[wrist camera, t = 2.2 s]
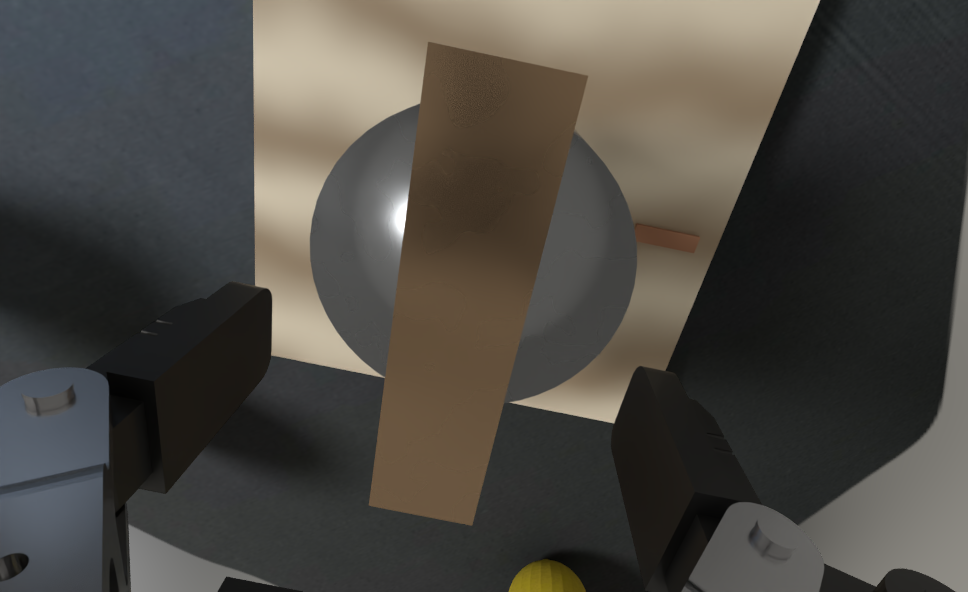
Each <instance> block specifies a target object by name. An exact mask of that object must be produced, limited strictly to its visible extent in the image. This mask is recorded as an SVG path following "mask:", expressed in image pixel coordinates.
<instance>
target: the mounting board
mask: <svg viewBox="0 0 968 592" xmlns="http://www.w3.org/2000/svg"><path fill="white" fill-rule="evenodd" d="M819 2H820V0H253V44H254V175H255V286H258V287H263V288H268V289H269V290H270V291H271V294H272V352H271V355H273V356H278V357H283V358H288V359H293V360H298V361H303V362H308V363H313V364H318V365H323V366H329V367H334V368H339V369H344V370H349V371H354V372H359V373H364V374H369V375H374V376H379V377H383V376H382V375H380V374H379V373H377V372H376V371H375V370H373V369H372V368H371V367H370V366H368V365H367V364H366V363H365V362H363V361H362V360H361V359H360V358H359V357H358V356H357V355H356V354H355V353H354V352H353V351H352V350H351V349H350V348H349V347H348V345H347V344H346V343H345V342H344V340H343V339H342V338H341V336H340V335H339V334H338V333H337V331H336V330H335V328H334V326H333V325H332V323H331V321H330V320H329V318H328V316H327V314H326V312H325V310H324V308H323V306H322V303H321V301H320V299H319V296H318V293H317V289H316V286H315V283H314V280H313V274H312V268H311V262H310V232H311V223H312V217H313V214H314V210H315V206H316V202H317V199H318V197H319V194H320V192H321V189H322V187H323V185H324V182H325V180H326V179H327V177H328V175H329V174H330V172H331V170H332V169H333V167H334V165H335V164H336V162H337V161H338V160H339V159H340V157H341V156H342V155H343V154H344V153H345V151H346V150H347V149H348V148H349V147H350V145H352V144H353V143H354V142H355V141H356V140H357V139H358V138H359V137H361V136H362V135H363V134H364V133H365V132H366V131H367V130H369V129H370V128H372V127H374V126H375V125H377V124H378V123H380V122H381V121H383V120H384V119H386V118H388V117H390V116H392V115H394V114H396V113H398V112H401V111H403V110H405V109H407V108H410V107H412V106H415V105H417V104H420V101H421V93H422V85H423V77H424V69H425V62H426V54H427V46H428V42H432V43H437V44H442V45H446V46H451V47H456V48H460V49H465V50H470V51H474V52H479V53H484V54H488V55H493V56H498V57H503V58H507V59H512V60H517V61H521V62H526V63H531V64H535V65H540V66H545V67H549V68H554V69H559V70H564V71H568V72H573V73H578V74H582V75H587V76H588V79H587V83H586V87H585V91H584V95H583V99H582V102H581V106H580V110H579V114H578V118H577V122H576V126H575V130H576V131H577V132H578V133H579V134H580V135H581V136H582V138H583V139H584V140H585V141H586V142H587V143H588V144H589V146H590V147H591V148H592V149H593V150H594V151H595V153H596V154H597V155H598V156H599V157H600V159H601V160H602V161H603V162H604V163H605V165H606V166H607V168H608V169H609V171H610V172H611V174H612V175H613V177H614V178H615V180H616V181H617V183H618V185H619V187H620V189H621V191H622V193H623V195H624V197H625V200H626V202H627V204H628V207H629V211H630V214H631V217H632V220H633V224H634V230H635V236H636V242H637V270H636V278H635V285H634V289H633V293H632V296H631V300H630V303H629V306H628V308H627V311H626V313H625V315H624V318H623V320H622V322H621V324H620V326H619V327H618V329H617V331H616V332H615V334H614V336H613V337H612V339H611V340H610V341H609V343H608V344H607V345H606V346H605V348H604V349H603V350H602V351H601V353H600V354H599V355H598V356H597V357H596V358H595V359H594V360H593V361H592V362H591V363H590V364H589V365H587V366H586V367H585V368H584V369H583V370H581V371H580V372H579V373H577V374H576V375H575V376H573V377H572V378H571V379H569V380H567V381H565V382H564V383H562V384H560V385H558V386H557V387H555V388H553V389H551V390H548V391H546V392H544V393H541V394H539V395H536V396H533V397H530V398H526V399H523V400H520V401H514V402H510V403H515V404H520V405H525V406H530V407H535V408H540V409H545V410H550V411H555V412H560V413H565V414H570V415H575V416H580V417H585V418H590V419H595V420H600V421H605V422H610V423H614V422H615V419H616V417H617V414H618V412H619V409H620V406H621V404H622V401H623V399H624V396H625V393H626V391H627V388H628V386H629V383H630V380H631V378H632V375H633V373H634V371H635V370H636V368H637V367H639V366H644V367H649V368H654V369H658V370H663V371H665V370H666V368H667V365H668V363H669V361H670V358H671V356H672V354H673V351H674V349H675V346H676V344H677V342H678V339H679V337H680V334H681V332H682V330H683V327H684V325H685V322H686V320H687V318H688V315H689V313H690V310H691V308H692V306H693V303H694V301H695V298H696V296H697V294H698V291H699V289H700V287H701V284H702V282H703V279H704V277H705V275H706V272H707V270H708V267H709V265H710V263H711V260H712V258H713V255H714V253H715V251H716V248H717V246H718V243H719V241H720V239H721V236H722V234H723V232H724V229H725V227H726V224H727V222H728V220H729V217H730V215H731V212H732V210H733V208H734V205H735V203H736V200H737V198H738V196H739V193H740V191H741V188H742V186H743V184H744V181H745V179H746V177H747V174H748V172H749V169H750V167H751V165H752V162H753V160H754V157H755V155H756V153H757V150H758V148H759V145H760V143H761V141H762V138H763V136H764V133H765V131H766V129H767V126H768V124H769V122H770V119H771V117H772V114H773V112H774V110H775V107H776V105H777V102H778V100H779V98H780V95H781V93H782V90H783V88H784V86H785V83H786V81H787V78H788V76H789V74H790V71H791V69H792V66H793V64H794V62H795V59H796V57H797V55H798V52H799V50H800V47H801V45H802V43H803V40H804V38H805V35H806V33H807V31H808V28H809V26H810V23H811V21H812V19H813V16H814V14H815V11H816V9H817V7H818V4H819ZM384 378H385V377H384Z"/></svg>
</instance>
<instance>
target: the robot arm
mask: <svg viewBox="0 0 968 592" xmlns="http://www.w3.org/2000/svg"><path fill="white" fill-rule="evenodd" d="M271 352H272V294H271V291H270V290H269V289H268V288H263V287H258V286H253V285H249V284H244V283H239V282H233V281H232V282H229V283H228V284H226V285H225V286H223V287H222V288H221V289H219V290H218V291H217V292H215V293H214V294H212V295H211V296H210V297H208V298H207V299H202V298H200V299H197V300H194V301H191V302H188V303H185V304H182V305H180V306H177V307H175V308H173V309H172V310H170V311H169V312H167V313H166V314H164V315H163V316H161V317H160V318H158V319H157V321H156V323H155V322H153V323H151V324H150V325H148V326H147V327H145V328H144V329H142V330H141V333H137V334H135V335H134V336H132V337H131V338H129V339H128V340H126V341H125V342H123V343H122V344H120V345H119V346H118V347H116V348H115V349H113V350H112V351H110V352H109V353H107V354H106V355H104V356H103V357H101V358H100V359H99V360H97V361H96V362H94V363H93V364H91V365H90V366H88V367H87V368H85V369H84V368H73V367H72V368H54V369H48V370H42V371H38V372H34V373H30V374H27V375H24V376H21V377H19V378H16V379H14V380H12V381H10V382H8V383H6V384H4V385H2V386H1V387H0V592H131V582H130V557H129V531H128V511H127V504H126V501H127V500H128V499H129V498H130V497H131V496H132V495H133V494H134V493H135V492H136V491H137V489H143V490H148V491H153V492H158V493H163V494H166V493H167V492H168V491H169V489H170V488H171V487H172V486H173V485H174V483H175V482H176V481H177V480H178V479H179V478H180V476H181V475H182V474H183V473H184V472H185V470H186V469H187V468H188V467H189V466H190V464H191V463H192V462H193V461H194V460H195V458H196V457H197V456H198V455H199V454H200V452H201V451H202V450H203V449H204V448H205V447H206V445H207V444H208V443H209V442H210V441H211V439H212V438H213V437H214V436H215V435H216V433H217V432H218V431H219V430H220V429H221V427H222V426H223V425H224V424H225V423H226V422H227V420H228V419H229V418H230V417H231V416H232V414H233V413H234V412H235V411H236V410H237V408H238V407H239V406H240V405H241V404H242V402H243V401H244V400H245V399H246V398H247V396H248V395H249V394H250V393H251V392H252V391H253V389H254V388H255V387H256V386H257V385H258V383H259V382H260V381H261V380H262V378H263V377H264V375H265V373H266V371H267V369H268V366H269V363H270V359H271ZM611 448H612V454H613V458H614V462H615V466H616V470H617V475H618V479H619V483H620V487H621V492H622V496H623V500H624V504H625V508H626V513H627V517H628V521H629V525H630V530H631V534H632V538H633V542H634V546H635V551H636V555H637V559H638V563H639V567H640V572H641V576H642V580H643V584H644V589H645V590H646V591H651V592H955V591H953V590H952V589H950V588H949V587H947V586H946V585H944V584H942V583H940V582H939V581H937V580H935V579H933V578H931V577H929V576H926V575H924V574H922V573H919V572H916V571H913V570H908V569H893V570H891V571H889V572H888V573H887V574H886V576H885V577H884V578H883V579H882V580H881V582H880V583H879V584H878V585H877V587H875V586H873V585H871V584H868V583H866V582H864V581H862V580H860V579H857V578H855V577H853V576H851V575H848V574H846V573H844V572H842V571H839V570H837V569H835V568H832V567H830V566H828V565H826V564H824V562H823V558H822V556H821V553H820V552H819V550H818V548H817V547H816V545H815V544H814V542H813V541H812V540H811V539H810V538H809V537H808V535H807V534H806V533H805V532H804V531H803V530H802V529H801V528H800V527H798V526H797V525H796V524H795V523H793V522H792V521H791V520H789V519H788V518H786V517H785V516H783V515H782V514H780V513H778V512H776V511H775V510H772V509H770V508H768V507H765V506H763V505H762V504H761V502H760V500H759V498H758V496H757V495H756V493H755V491H754V489H753V487H752V486H751V484H750V482H749V480H748V478H747V476H746V475H745V473H744V471H743V469H742V467H741V466H740V464H739V462H738V460H737V458H736V457H735V455H732V452H733V451H732V449H731V448H730V446H729V444H728V442H727V440H725V439H724V435H723V433H722V431H721V430H720V428H719V426H718V424H717V422H716V420H715V419H714V417H713V416H712V415H711V414H710V413H709V412H707V411H706V410H705V409H704V408H703V407H702V406H701V405H700V404H699V403H698V402H697V401H696V400H692V399H689V398H688V396H687V394H686V392H685V390H684V388H683V386H682V384H681V382H680V380H679V378H678V376H677V375H676V374H675V373H673V372H668V371H663V370H658V369H654V368H649V367H644V366H639V367H637V368H636V370H635V371H634V373H633V375H632V378H631V380H630V383H629V386H628V388H627V391H626V393H625V396H624V399H623V401H622V404H621V406H620V409H619V412H618V414H617V417H616V419H615V422H614V426H613V430H612V438H611ZM218 592H303V591H298V590H292V589H287V588H282V587H277V586H272V585H267V584H262V583H256V582H251V581H246V580H241V579H236V578H231V577H226V578H225V580H224V582H223V583H222V585H221V587H220V588H219V590H218Z"/></svg>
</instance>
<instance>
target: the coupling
mask: <svg viewBox="0 0 968 592" xmlns="http://www.w3.org/2000/svg"><path fill="white" fill-rule="evenodd" d="M587 79H588V76H587V75H582V74H578V73H573V72H568V71H564V70H559V69H554V68H549V67H545V66H540V65H535V64H531V63H526V62H521V61H517V60H512V59H507V58H503V57H498V56H493V55H488V54H484V53H479V52H474V51H470V50H465V49H460V48H456V47H451V46H446V45H442V44H437V43H432V42H428V46H427V54H426V62H425V69H424V77H423V85H422V93H421V101H420V104H417V105H415V106H412V107H410V108H407V109H405V110H403V111H401V112H398V113H396V114H394V115H392V116H390V117H388V118H386V119H384V120H383V121H381V122H380V123H378V124H377V125H375V126H374V127H372V128H370V129H369V130H367V131H366V132H365V133H364V134H363V135H362V136H361V137H359V138H358V139H357V140H356V141H355V142H354V143H353V144H352V145H350V147H349V148H348V149H347V150H346V151H345V153H344V154H343V155H342V156H341V157H340V159H339V160H338V161H337V162H336V164H335V165H334V167H333V169H332V170H331V172H330V174H329V175H328V177H327V179H326V180H325V182H324V185H323V187H322V189H321V192H320V194H319V197H318V199H317V202H316V206H315V210H314V214H313V217H312V223H311V232H310V262H311V268H312V274H313V280H314V283H315V286H316V289H317V293H318V296H319V299H320V301H321V303H322V306H323V308H324V310H325V312H326V314H327V316H328V318H329V320H330V321H331V323H332V325H333V326H334V328H335V330H336V331H337V333H338V334H339V335H340V336H341V338H342V339H343V340H344V342H345V343H346V344H347V345H348V347H349V348H350V349H351V350H352V351H353V352H354V353H355V354H356V355H357V356H358V357H359V358H360V359H361V360H362V361H363V362H365V363H366V364H367V365H368V366H370V367H371V368H372V369H373V370H375V371H376V372H377V373H379V374H380V375H382V376H383V377H385V383H384V391H383V399H382V406H381V414H380V422H379V430H378V438H377V446H376V453H375V461H374V469H373V477H372V485H371V493H370V500H369V506H373V507H379V508H384V509H389V510H394V511H399V512H404V513H410V514H415V515H420V516H425V517H430V518H436V519H441V520H446V521H451V522H456V523H461V524H467V525H472V524H473V520H474V516H475V512H476V508H477V504H478V501H479V497H480V493H481V489H482V485H483V481H484V477H485V473H486V470H487V466H488V462H489V458H490V454H491V450H492V446H493V443H494V439H495V435H496V431H497V427H498V423H499V419H500V415H501V412H502V408H503V404H504V403H509V402H514V401H520V400H523V399H526V398H530V397H533V396H536V395H539V394H541V393H544V392H546V391H548V390H551V389H553V388H555V387H557V386H558V385H560V384H562V383H564V382H565V381H567V380H569V379H571V378H572V377H573V376H575V375H576V374H577V373H579V372H580V371H581V370H583V369H584V368H585V367H586V366H587V365H589V364H590V363H591V362H592V361H593V360H594V359H595V358H596V357H597V356H598V355H599V354H600V353H601V351H602V350H603V349H604V348H605V346H606V345H607V344H608V343H609V341H610V340H611V339H612V337H613V336H614V334H615V332H616V331H617V329H618V327H619V326H620V324H621V322H622V320H623V318H624V315H625V313H626V311H627V308H628V306H629V303H630V300H631V296H632V293H633V289H634V285H635V278H636V270H637V242H636V236H635V230H634V224H633V220H632V217H631V214H630V211H629V207H628V204H627V202H626V200H625V197H624V195H623V193H622V191H621V189H620V187H619V185H618V183H617V181H616V180H615V178H614V177H613V175H612V174H611V172H610V171H609V169H608V168H607V166H606V165H605V163H604V162H603V161H602V160H601V159H600V157H599V156H598V155H597V154H596V153H595V151H594V150H593V149H592V148H591V147H590V146H589V144H588V143H587V142H586V141H585V140H584V139H583V138H582V136H581V135H580V134H579V133H578V132H577V131H576V130H575V126H576V122H577V118H578V114H579V110H580V106H581V102H582V99H583V95H584V91H585V87H586V83H587Z"/></svg>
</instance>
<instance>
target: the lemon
mask: <svg viewBox="0 0 968 592" xmlns="http://www.w3.org/2000/svg"><path fill="white" fill-rule="evenodd" d="M509 592H586V590H585V588H584V586H583V584H582V582H581V581H580V579H579V578H578V577H577V575H576V574H575V573H574V572H573V571H572V570H571V569H570V568H568V567H566V566H565V565H563V564H562V563H559V562H556V561H552V560H548V559H543V560H539V561H535V562H532V563H530V564H528V565H527V566H525V567H524V568H523V569H522V570H521V571H520V572H519V573H518V574H517V575H516V577H515V578H514V580H513V582H512V584H511V586H510V589H509Z"/></svg>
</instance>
